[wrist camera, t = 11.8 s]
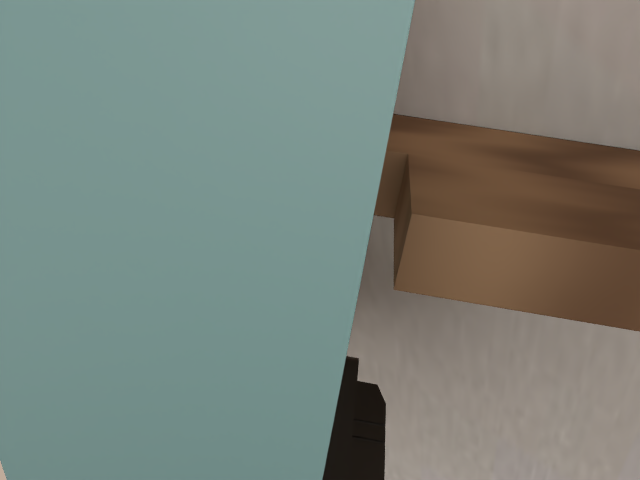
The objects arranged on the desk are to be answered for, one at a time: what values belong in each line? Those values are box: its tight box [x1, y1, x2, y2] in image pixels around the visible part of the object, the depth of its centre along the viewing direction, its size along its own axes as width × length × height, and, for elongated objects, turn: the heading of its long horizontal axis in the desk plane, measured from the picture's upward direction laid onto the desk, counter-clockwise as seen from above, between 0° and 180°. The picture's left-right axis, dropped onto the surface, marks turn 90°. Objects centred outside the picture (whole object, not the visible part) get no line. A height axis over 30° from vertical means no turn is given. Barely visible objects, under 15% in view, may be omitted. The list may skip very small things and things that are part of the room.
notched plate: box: [0, 0, 415, 480], centre depth 9 cm, size 2×14×10 cm, turn 174°
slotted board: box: [374, 114, 640, 331], centre depth 14 cm, size 24×2×7 cm, turn 84°
